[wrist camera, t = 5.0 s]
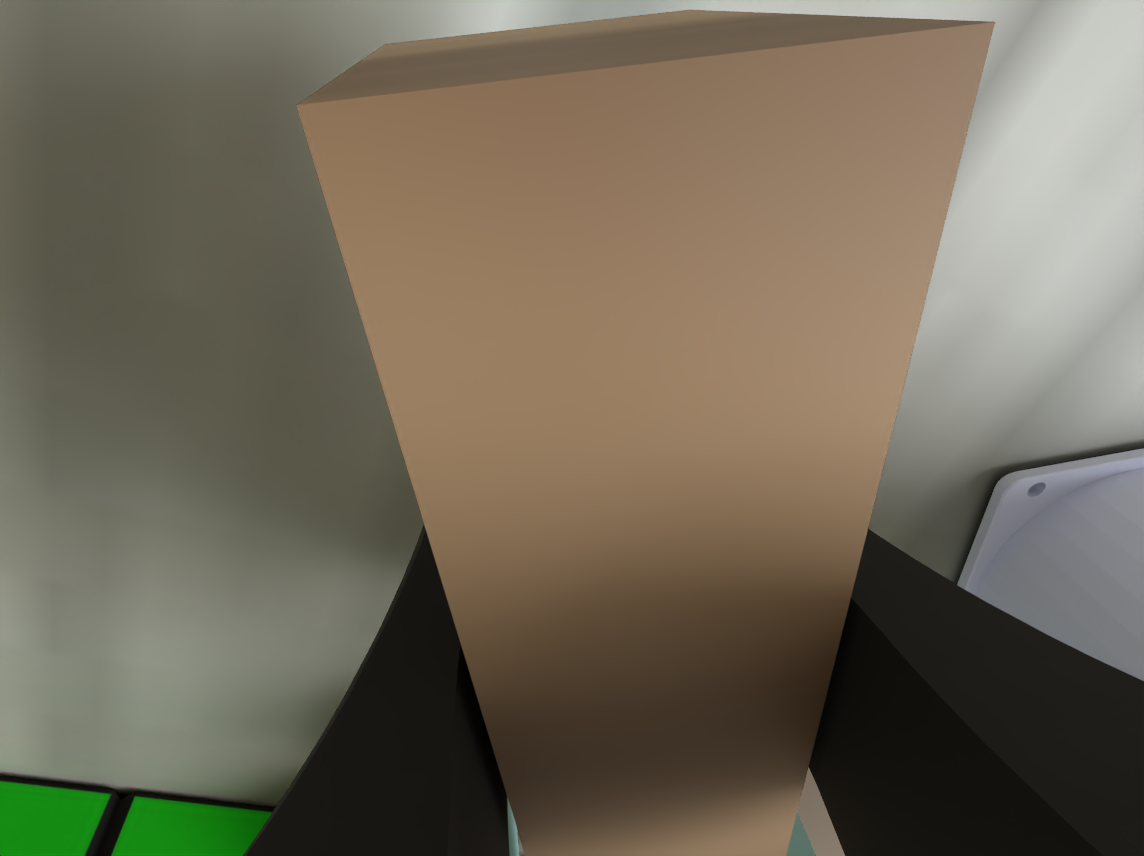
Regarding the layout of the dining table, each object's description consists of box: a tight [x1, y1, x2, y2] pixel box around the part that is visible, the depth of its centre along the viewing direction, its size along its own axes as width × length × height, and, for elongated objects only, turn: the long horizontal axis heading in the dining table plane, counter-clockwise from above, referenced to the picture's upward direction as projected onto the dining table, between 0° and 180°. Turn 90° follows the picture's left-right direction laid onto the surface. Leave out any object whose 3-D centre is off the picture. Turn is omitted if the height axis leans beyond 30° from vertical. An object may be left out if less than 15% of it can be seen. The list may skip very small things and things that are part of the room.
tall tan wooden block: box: [296, 10, 995, 856], centre depth 9 cm, size 14×4×5 cm, turn 5°
